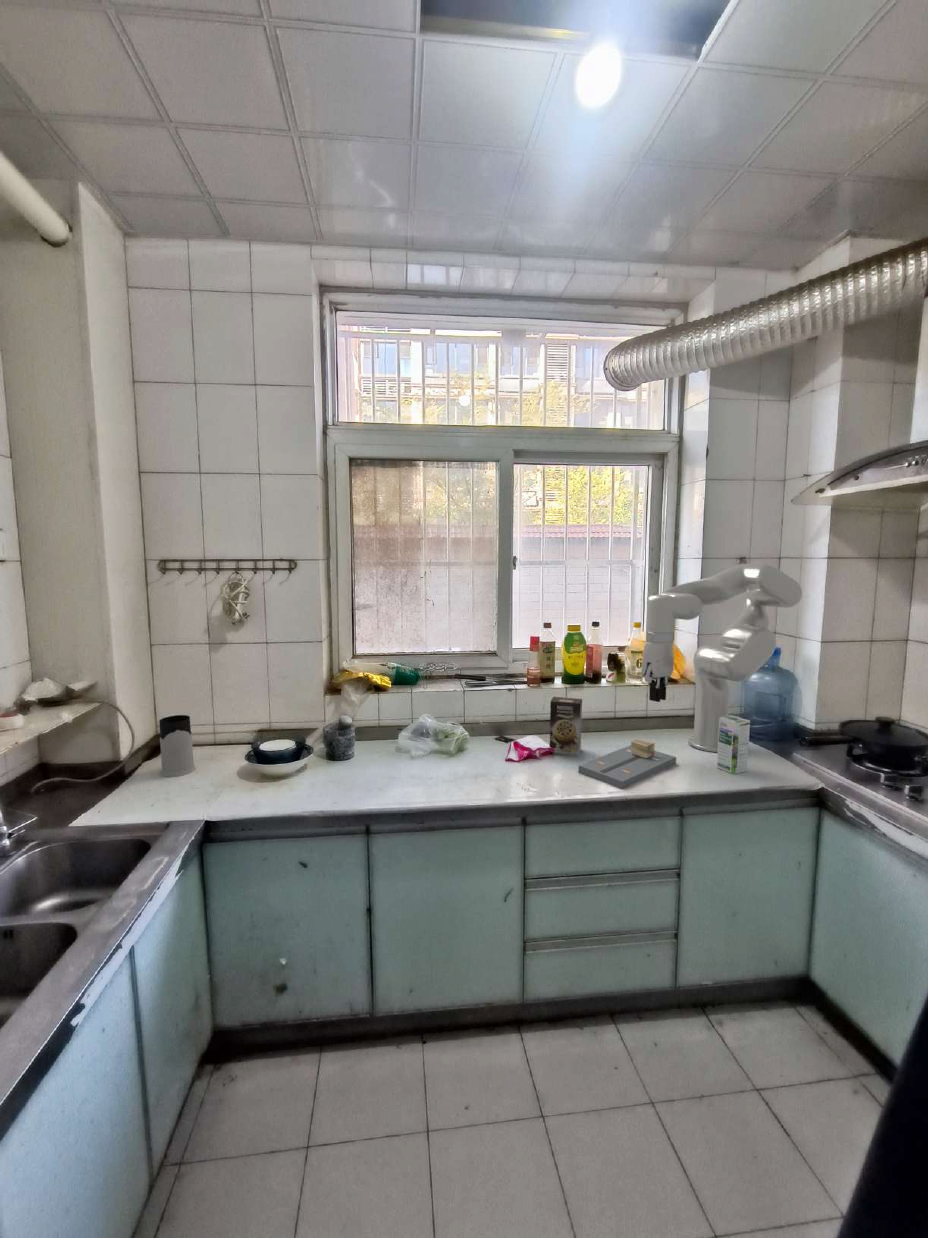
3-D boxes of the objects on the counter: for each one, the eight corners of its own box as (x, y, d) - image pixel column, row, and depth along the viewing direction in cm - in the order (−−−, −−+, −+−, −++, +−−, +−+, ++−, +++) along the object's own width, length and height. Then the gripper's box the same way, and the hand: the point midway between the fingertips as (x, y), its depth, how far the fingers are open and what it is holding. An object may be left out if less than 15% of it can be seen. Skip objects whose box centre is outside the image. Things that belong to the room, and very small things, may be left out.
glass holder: (162, 779, 145) (158, 725, 143) (155, 764, 156) (152, 713, 154) (198, 772, 150) (195, 719, 148) (189, 757, 161) (186, 708, 160)
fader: (638, 750, 158) (639, 738, 157) (654, 755, 154) (654, 743, 153) (630, 753, 155) (631, 741, 155) (646, 758, 151) (646, 746, 151)
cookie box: (548, 753, 162) (549, 701, 160) (551, 746, 168) (552, 695, 166) (579, 756, 159) (580, 703, 158) (581, 749, 165) (582, 697, 164)
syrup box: (715, 767, 150) (718, 717, 148) (729, 764, 153) (732, 714, 151) (734, 775, 145) (736, 722, 143) (748, 771, 148) (751, 719, 146)
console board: (632, 750, 164) (633, 743, 164) (676, 763, 153) (676, 756, 153) (578, 772, 147) (578, 765, 147) (622, 789, 137) (622, 781, 136)
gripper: (662, 633, 163) (660, 693, 165) (632, 639, 153) (630, 702, 155) (686, 636, 157) (683, 698, 159) (656, 642, 147) (654, 707, 149)
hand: (657, 699), depth 157 cm, fingers closed
